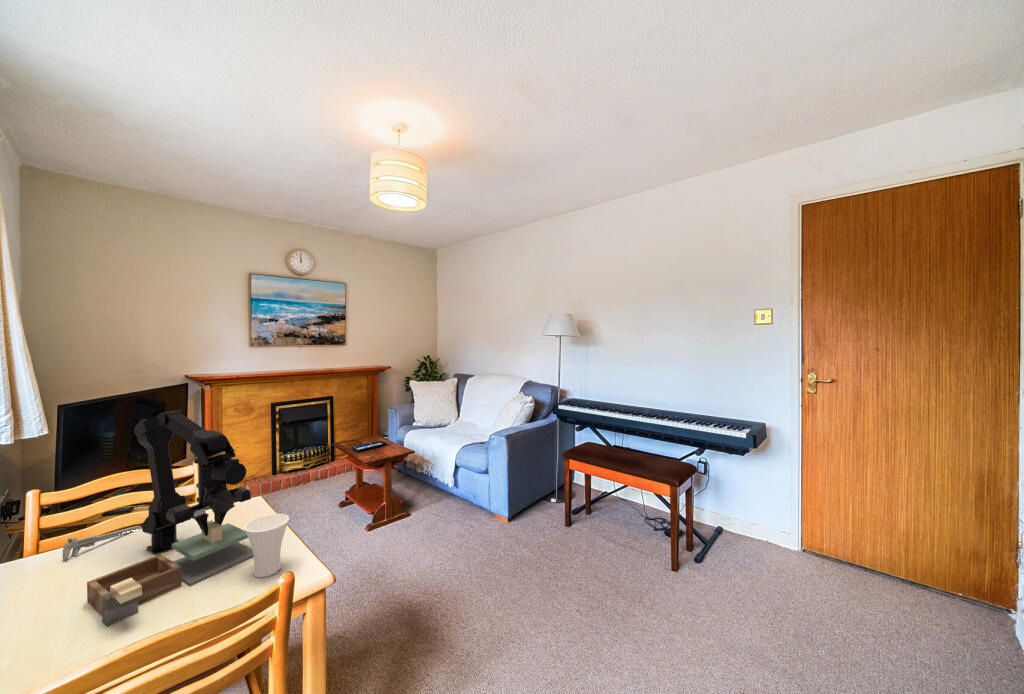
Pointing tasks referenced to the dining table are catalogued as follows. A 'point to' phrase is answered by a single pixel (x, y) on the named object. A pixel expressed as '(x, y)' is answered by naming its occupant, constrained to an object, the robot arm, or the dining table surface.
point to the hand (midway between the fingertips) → (211, 533)
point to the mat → (213, 563)
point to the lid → (210, 540)
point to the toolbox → (150, 574)
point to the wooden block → (125, 590)
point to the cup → (266, 542)
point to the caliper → (90, 542)
